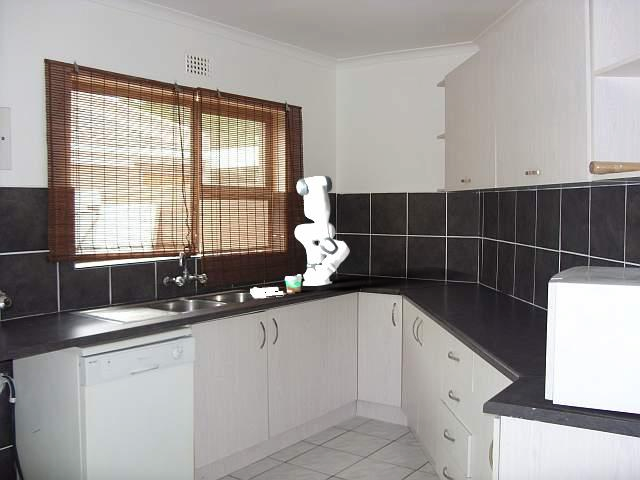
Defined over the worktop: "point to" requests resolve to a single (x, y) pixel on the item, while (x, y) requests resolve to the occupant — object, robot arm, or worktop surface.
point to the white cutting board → (260, 293)
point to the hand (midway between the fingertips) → (313, 282)
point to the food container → (293, 283)
